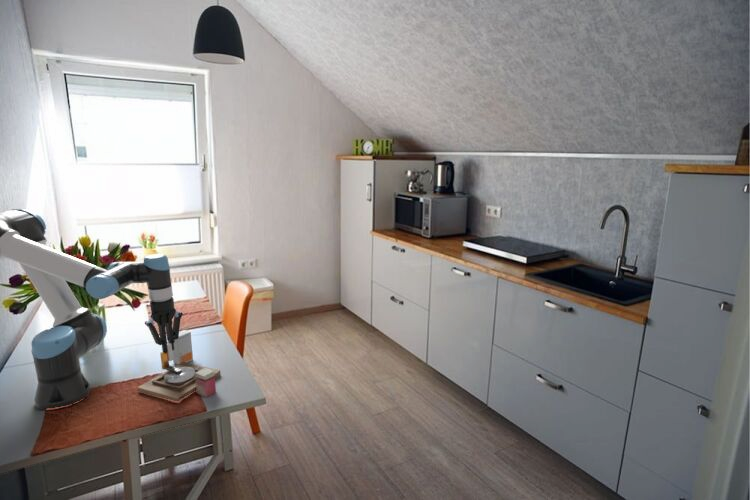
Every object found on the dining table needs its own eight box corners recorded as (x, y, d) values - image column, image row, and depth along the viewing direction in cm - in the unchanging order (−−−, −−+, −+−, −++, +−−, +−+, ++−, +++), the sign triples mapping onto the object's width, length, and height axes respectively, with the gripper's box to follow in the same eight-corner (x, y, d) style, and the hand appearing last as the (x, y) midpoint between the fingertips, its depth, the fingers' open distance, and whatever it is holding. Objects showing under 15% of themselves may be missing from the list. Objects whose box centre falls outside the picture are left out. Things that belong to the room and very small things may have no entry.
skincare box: (180, 366, 167) (177, 337, 165) (173, 363, 170) (170, 334, 167) (193, 359, 172) (191, 331, 170) (187, 357, 175) (184, 329, 172)
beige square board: (177, 404, 143) (176, 395, 142) (138, 392, 149) (137, 384, 149) (220, 375, 161) (220, 368, 160) (183, 366, 167) (182, 359, 167)
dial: (201, 375, 156) (199, 355, 154) (176, 388, 148) (174, 367, 146) (176, 365, 163) (174, 346, 161) (151, 377, 155) (148, 357, 153)
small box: (196, 393, 149) (194, 372, 147) (206, 387, 152) (204, 367, 151) (206, 397, 146) (204, 376, 144) (216, 391, 150) (214, 370, 148)
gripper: (173, 291, 160) (181, 350, 166) (137, 301, 150) (146, 363, 156) (184, 295, 156) (191, 355, 161) (148, 305, 146) (157, 369, 151)
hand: (169, 359), depth 158 cm, fingers closed
